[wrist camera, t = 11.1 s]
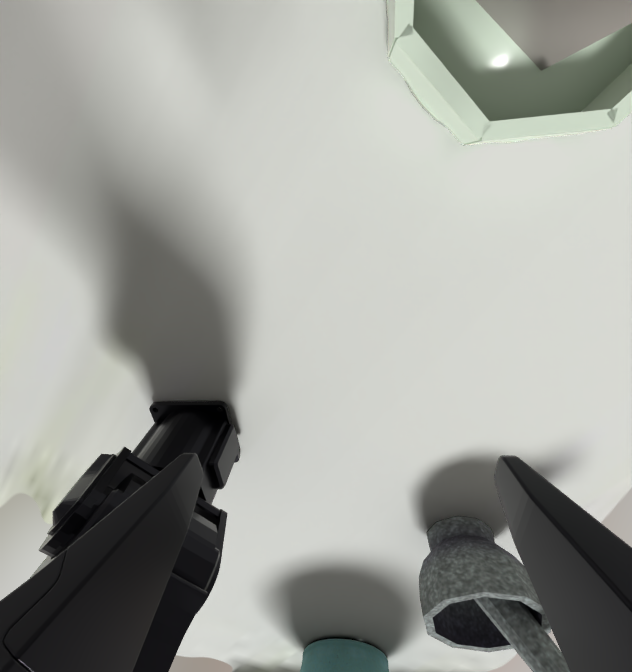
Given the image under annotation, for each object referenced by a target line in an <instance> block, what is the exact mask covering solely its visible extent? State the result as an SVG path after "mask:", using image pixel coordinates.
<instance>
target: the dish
mask: <svg viewBox="0 0 632 672" xmlns="http://www.w3.org/2000/svg"><path fill="white" fill-rule="evenodd" d="M386 7H387V18H388V46H387V58H388V57H390V58H389V62H390V63H391V64H392V65H393V67H394V68H395V69H396V70H397V71H398V72H399V73H400V75H401V76H402V77H403V78H404V80H405V82H406V83H407V85H408V87H409V89H410V91H411V93H412V94H413V95H414V97H415V98H416V99H417V101H418V102H419V103H420V105H421V106H422V108H423V109H424V110H425V111H426V112H428V113H429V114H430V115H431V116H432V117H433V118H434V119H435V120H436V121H437V122H439V123H440V124H442V125H443V126H444V127H446V128H447V129H448V130H449V131H450V132H451V134H452V135H453V136H454V137H455V138H456V139H457V141H458V142H459V143H460V144H461V145H462V144H464V145H463V146H465V145H475V144H485V143H513V142H519V141H525V140H531V139H537V138H547V137H558V136H568V135H577V134H583V133H589V132H594V131H600V130H606V129H612V127H616V126H617V125H618V124H619V123H620V122H621V121H623V120H624V119H625V118H626V117H627V116H628V115H629V114H630V113H631V112H632V23H631V24H629V25H627V26H625V27H623V28H621V29H619V30H618V31H616V32H614V33H612V34H610V35H608V36H606V37H604V38H602V39H601V40H599V41H597V42H595V43H593V44H591V45H589V46H587V47H585V48H584V49H582V50H580V51H578V52H576V53H574V54H572V55H570V56H568V57H566V58H565V59H563V60H561V61H559V62H557V63H555V64H553V65H551V66H549V67H548V68H546V69H544V70H542V71H541V70H540V69H539V68H538V67H537V66H536V65H535V64H534V63H533V61H532V60H531V59H530V58H529V57H528V56H527V55H526V54H525V53H524V52H523V51H522V50H521V49H520V47H519V46H518V45H517V44H516V43H515V42H514V41H513V40H512V39H511V38H510V37H509V36H508V35H507V34H506V32H505V31H504V30H503V29H502V28H501V27H500V26H499V25H498V24H497V23H496V22H495V21H494V20H493V19H492V17H491V16H490V15H489V14H488V13H487V12H486V11H485V10H484V9H483V8H482V7H481V6H480V5H479V3H478V2H477V1H476V0H386Z"/></svg>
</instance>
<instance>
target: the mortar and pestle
mask: <svg viewBox="0 0 632 672" xmlns="http://www.w3.org/2000/svg"><path fill="white" fill-rule="evenodd" d="M427 538H428V543H429V547H430V550H431V552H430V554H429V555H428V556H427V557H426V559H425V560H424V561H423V565H422V568H421V572H420V575H419V589H420V601H421V607H422V612H423V618H424V621H425V625H426V629H427V633H428V635H430V636H432V637H434V638H435V639H437V640H439V641H441V642H443V643H445V644H447V645H449V646H451V647H453V648H461V649H469V650H477V651H484V652H492V651H499V650H506V649H513V648H514V649H515V650H516V652H517V653H518V654H519V655H520V656H521V658H522V659H523V660H524V661H525V662H526V664H527V665H528V666H529V667H530V669H531V670H532V671H533V672H570V670H569V668H568V666H567V664H566V661H565V659H564V657H563V654H562V652H561V651H560V650H559V648H558V647H557V646H556V645H555V643H554V642H553V641H552V639H551V638H550V637H549V636H548V633H550V632H551V627H550V624H549V622H548V620H547V617H546V615H545V613H544V610H543V608H542V606H541V604H540V601H539V599H538V597H537V594H536V592H535V590H534V587H533V585H532V583H531V580H530V578H529V576H528V574H527V571H526V569H525V567H524V565H523V564H522V563H520V562H519V561H518V560H517V559H516V558H515V557H514V556H513V555H512V554H510V553H509V552H507V551H506V550H504V549H503V548H501V547H500V546H498V545H497V544H495V542H494V536H493V533H492V530H491V528H490V527H489V526H488V525H486V524H485V523H483V522H482V521H480V520H479V519H477V518H468V517H458V516H455V517H452V518H448V519H445V520H441V521H438V522H436V523H435V524H434V525H433V526H432V527H431V528H430V529H429V531H428V532H427Z"/></svg>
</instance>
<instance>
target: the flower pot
mask: <svg viewBox="0 0 632 672" xmlns="http://www.w3.org/2000/svg"><path fill="white" fill-rule="evenodd" d="M300 672H389V669H388V660H387V658H386V656H385V655H384V653H382V652H381V651H380V650H379V649H377V648H375V647H373V646H371V645H369V644H366V643H363V642H359V641H355V640H349V639H325V640H320V641H317V642H314V643H312V644H310V645H308V646H307V647H306V648H305V650H304V652H303V660H302V666H301V670H300Z"/></svg>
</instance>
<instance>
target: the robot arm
mask: <svg viewBox="0 0 632 672" xmlns="http://www.w3.org/2000/svg"><path fill="white" fill-rule="evenodd" d="M219 407H221V408H222V409H221V408H219ZM150 412H151V414H152V417H153V419H154V422H155V423H154V425H153V426H152V427H151V429H150V430H149V431H148V433H147V434H146V435H145V437H144V438H143V439H142V440H141V442H140V443H139V444H138V446H137V447H136V448H135V450H134V451H133V452H132V453H131V450H129V449H127V448H126V447H124V448H123V449H122V450H121V451H120V452H119V453H118V454H117V455H115V454H112V455H109V454H101V455H100V456H99V457H98V458H97V459H96V460H95V462H94V463H93V464H92V465H91V466H90V467H89V468H88V470H87V471H86V472H85V473H84V474H83V475H82V476H81V478H80V479H79V480H78V481H77V482H76V483H75V485H74V486H73V487H72V488H71V490H70V491H69V492H68V493H67V495H66V496H65V497H64V498H63V500H62V501H61V502H60V503H59V504H58V506H57V507H56V508H55V509H54V511H53V526H52V527H51V529H50V530H49V532H48V537H47V538H46V540H45V541H44V543H43V544H42V545H41V547H40V549H39V551H40V552H43V553H45V554H46V555H48V556H47V558H46V559H45V560H44V561H43V563H42V564H41V565H40V566H39V567H38V569H37V570H36V571H35V572H34V574H33V575H32V576H31V577H30V579H29V580H27V581H26V582H25V583H23V584H22V585H21V586H20V587H18V588H17V589H16V590H14V591H13V592H12V593H10V594H9V595H8V596H6V597H5V598H4V599H2V600H1V601H0V672H168V671H169V669H170V667H171V664H172V662H173V660H174V657H175V655H176V653H177V650H178V648H179V646H180V644H181V641H182V639H183V637H184V635H185V633H186V631H187V629H188V627H189V625H190V623H191V622H192V620H193V618H194V616H195V615H196V614H197V612H198V611H199V610H200V608H201V607H202V606H203V604H204V603H205V601H206V599H207V598H208V596H209V594H210V592H211V590H212V588H213V586H214V583H215V581H216V578H217V575H218V572H219V568H220V563H221V556H222V549H223V541H224V534H225V527H226V519H227V513H226V512H225V511H223V510H222V509H220V510H219V509H218V508H216V507H214V506H213V505H211V504H212V502H213V499H214V497H215V494H216V492H217V490H218V489H223V488H224V486H225V485H226V482H227V479H228V477H229V474H230V472H231V469H232V466H233V464H234V462H238V460H239V458H240V453H239V448H240V446H239V442H238V438H237V434H236V431H235V427H234V425H233V424H232V422H231V419H230V415H229V411H228V407H227V405H226V404H225V403H224V402H221V401H210V402H154V403H153V404H152V405H151V406H150ZM494 481H495V485H496V488H497V491H498V494H499V498H500V501H501V504H502V507H503V510H504V513H505V516H506V519H507V523H508V526H509V529H510V532H511V535H512V538H513V541H514V543H515V546H516V548H517V550H518V553H519V555H520V557H521V560H522V562H523V564H524V567H525V569H526V571H527V574H528V576H529V578H530V580H531V583H532V585H533V587H534V590H535V592H536V594H537V597H538V599H539V601H540V604H541V606H542V608H543V610H544V613H545V615H546V617H547V620H548V622H549V624H550V627H551V629H552V631H553V634H554V636H555V638H556V640H557V643H558V645H559V647H560V649H561V652H562V654H563V657H564V659H565V661H566V664H567V666H568V668H569V670H570V672H632V548H631V547H630V546H629V545H628V544H626V543H625V542H624V541H623V540H621V539H620V538H619V537H617V536H616V535H615V534H614V533H612V532H611V531H610V530H609V529H608V528H606V527H605V526H604V525H603V524H601V523H600V522H599V521H597V520H596V519H595V518H594V517H592V516H591V515H590V514H589V513H587V512H586V511H585V510H584V509H582V508H581V507H580V506H579V505H577V504H576V503H575V502H574V501H572V500H571V499H570V498H569V497H567V496H566V495H565V494H564V493H562V492H561V491H560V490H559V489H557V488H556V487H555V486H554V485H552V484H551V483H550V482H548V481H547V480H546V479H545V478H543V477H542V476H541V475H540V474H538V473H537V472H536V471H535V470H533V469H532V468H531V467H530V466H528V465H527V464H526V463H525V462H523V461H522V460H521V459H520V458H518V457H516V456H500V457H499V459H498V463H497V467H496V470H495V475H494Z"/></svg>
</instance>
